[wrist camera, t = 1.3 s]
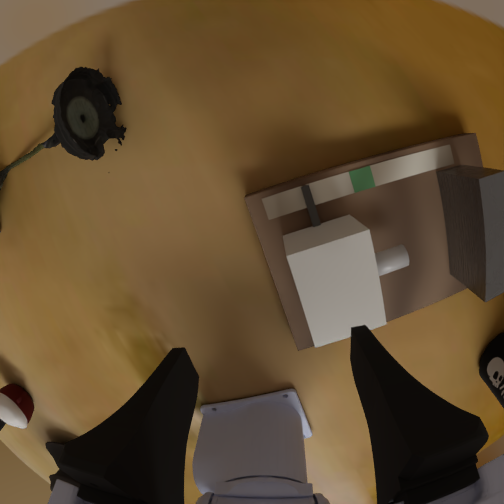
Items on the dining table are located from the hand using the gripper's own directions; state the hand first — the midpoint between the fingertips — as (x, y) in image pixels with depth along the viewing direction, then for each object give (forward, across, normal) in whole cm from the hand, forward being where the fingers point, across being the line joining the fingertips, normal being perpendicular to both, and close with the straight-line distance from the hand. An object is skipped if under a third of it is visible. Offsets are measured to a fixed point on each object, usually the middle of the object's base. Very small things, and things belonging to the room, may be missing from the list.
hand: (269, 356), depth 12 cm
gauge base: (+10, -9, 0) cm, 13 cm away
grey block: (+9, -14, -1) cm, 17 cm away
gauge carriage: (+8, -5, -1) cm, 10 cm away
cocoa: (+7, +39, +15) cm, 42 cm away
